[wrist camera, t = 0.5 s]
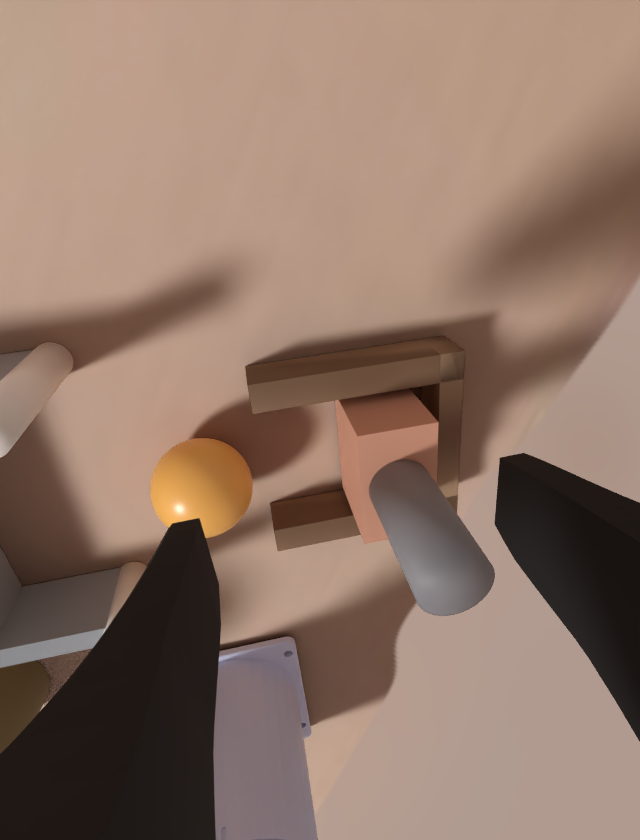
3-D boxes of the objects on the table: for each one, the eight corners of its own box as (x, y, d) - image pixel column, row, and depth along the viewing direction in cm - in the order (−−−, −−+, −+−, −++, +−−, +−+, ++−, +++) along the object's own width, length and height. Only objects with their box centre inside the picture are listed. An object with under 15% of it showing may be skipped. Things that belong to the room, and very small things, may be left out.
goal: (152, 580, 24) (132, 696, 18) (10, 608, 23) (-55, 739, 18) (66, 339, 18) (-1, 410, 12) (-131, 367, 17) (-289, 454, 12)
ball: (256, 489, 22) (262, 548, 19) (169, 505, 22) (159, 569, 18) (242, 413, 20) (245, 463, 17) (146, 429, 20) (129, 484, 16)
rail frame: (439, 491, 24) (456, 515, 22) (273, 522, 23) (277, 551, 22) (444, 335, 20) (465, 350, 19) (245, 366, 19) (247, 385, 18)
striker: (403, 475, 23) (497, 632, 15) (342, 486, 23) (406, 653, 15) (402, 379, 21) (512, 507, 13) (334, 391, 20) (404, 528, 12)
